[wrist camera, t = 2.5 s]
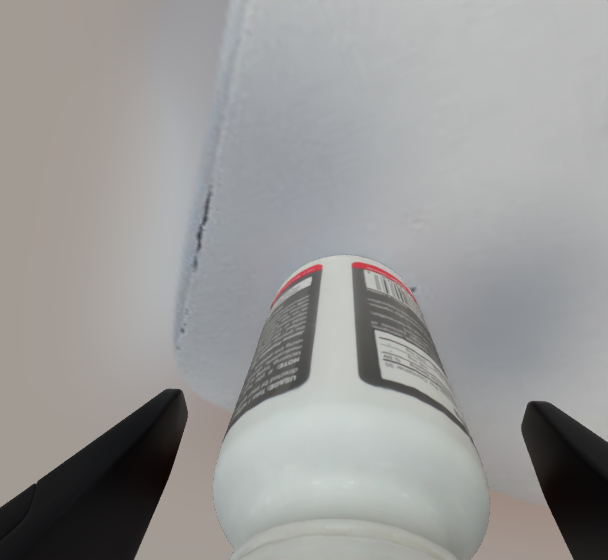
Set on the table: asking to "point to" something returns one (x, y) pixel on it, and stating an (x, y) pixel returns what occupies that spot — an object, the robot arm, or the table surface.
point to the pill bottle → (348, 430)
